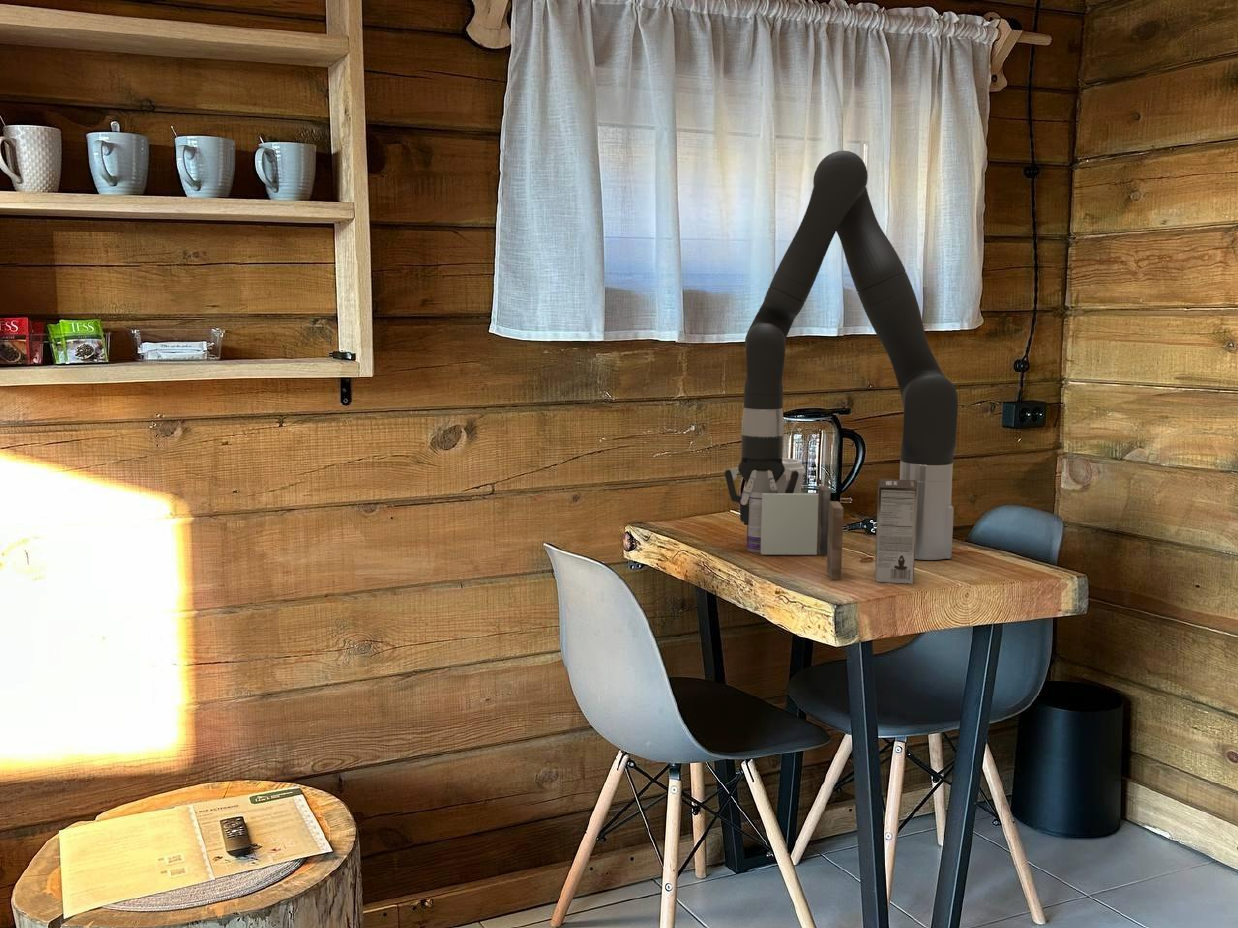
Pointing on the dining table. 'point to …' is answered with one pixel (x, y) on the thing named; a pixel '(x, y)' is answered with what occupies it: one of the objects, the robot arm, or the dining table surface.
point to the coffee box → (896, 530)
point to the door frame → (830, 532)
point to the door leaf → (789, 523)
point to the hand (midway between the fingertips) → (759, 524)
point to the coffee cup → (782, 481)
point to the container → (756, 510)
